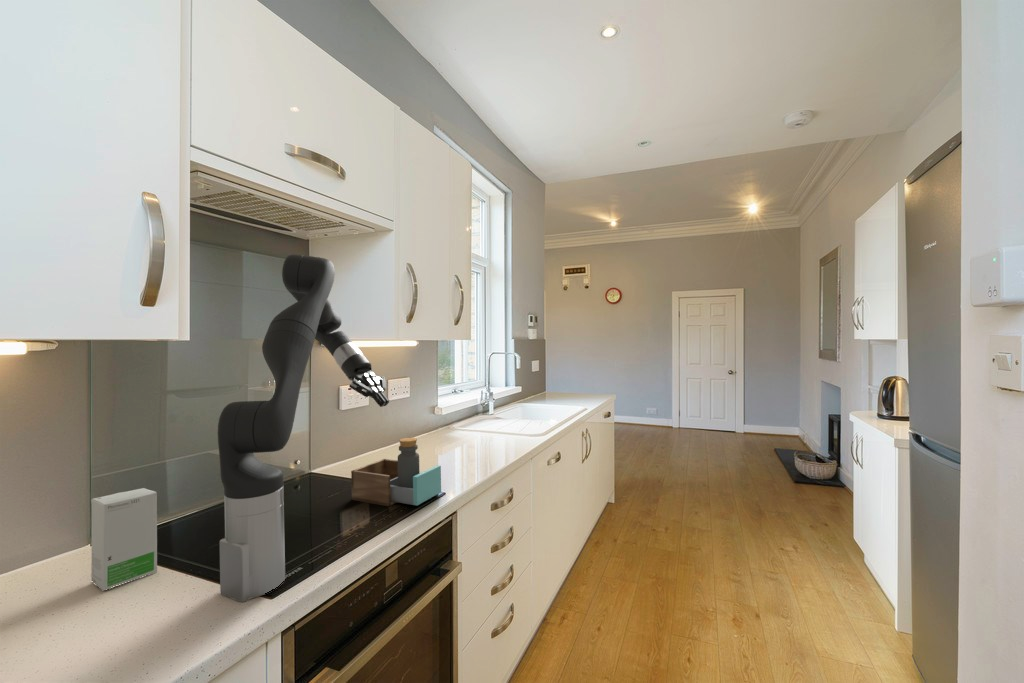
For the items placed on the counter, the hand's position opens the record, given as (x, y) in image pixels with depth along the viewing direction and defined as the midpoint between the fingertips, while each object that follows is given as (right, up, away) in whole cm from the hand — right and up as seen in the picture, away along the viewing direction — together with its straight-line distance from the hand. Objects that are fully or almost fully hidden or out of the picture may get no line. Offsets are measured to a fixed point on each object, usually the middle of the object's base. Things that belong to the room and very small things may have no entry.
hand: (385, 404), depth 125 cm
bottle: (+8, -24, -4) cm, 26 cm away
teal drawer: (+8, -25, -4) cm, 26 cm away
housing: (0, -26, 0) cm, 26 cm away
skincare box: (-37, -27, -42) cm, 62 cm away
